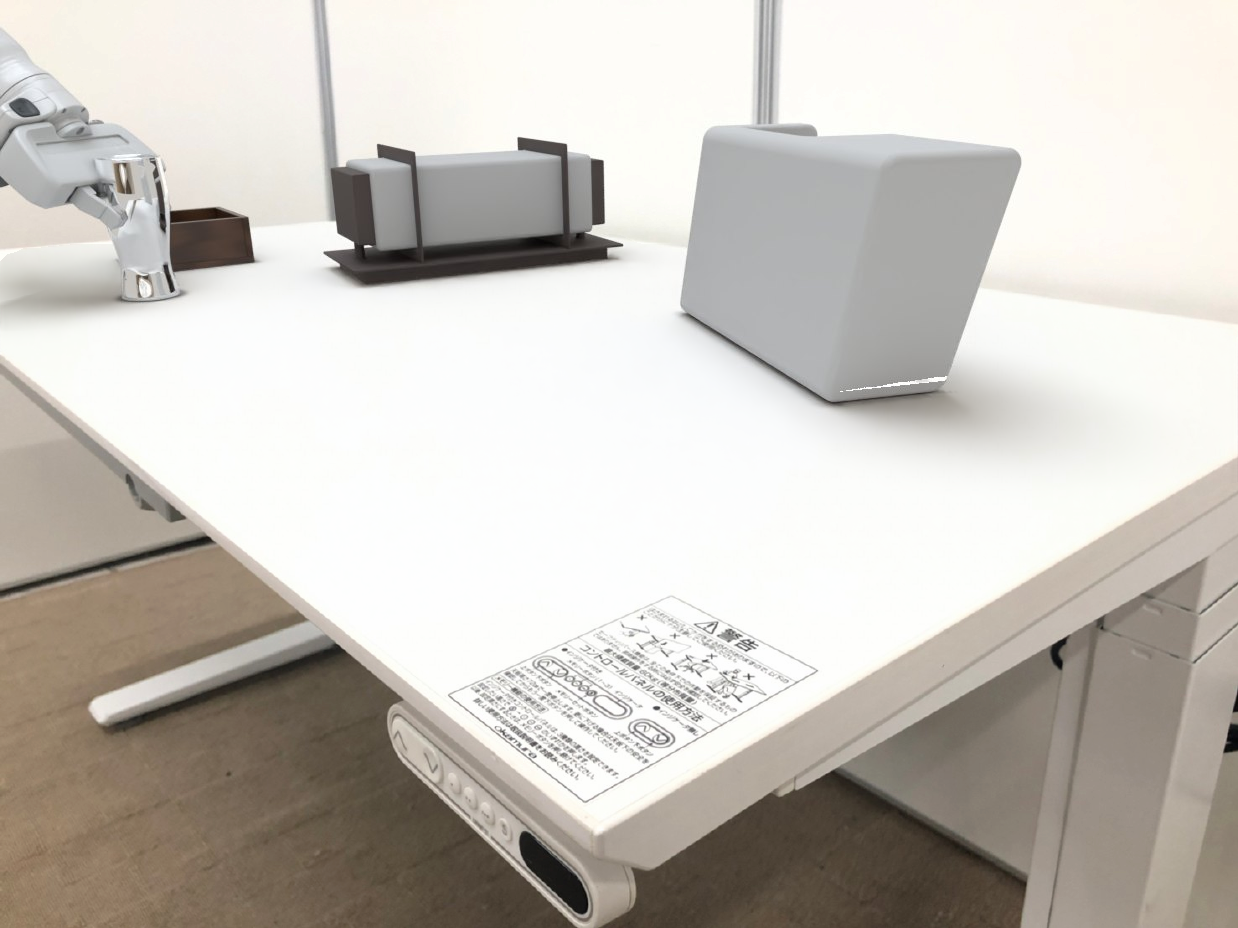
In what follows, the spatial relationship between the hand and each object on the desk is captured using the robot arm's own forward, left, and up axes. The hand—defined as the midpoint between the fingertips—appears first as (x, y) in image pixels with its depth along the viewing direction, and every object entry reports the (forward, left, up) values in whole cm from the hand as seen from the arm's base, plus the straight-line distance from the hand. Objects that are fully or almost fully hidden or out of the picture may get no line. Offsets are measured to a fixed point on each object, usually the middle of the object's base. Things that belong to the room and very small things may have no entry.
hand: (143, 218), depth 115 cm
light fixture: (+38, -4, -9) cm, 39 cm away
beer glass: (0, 0, -9) cm, 9 cm away
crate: (+9, +22, -8) cm, 25 cm away
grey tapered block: (+40, -62, -9) cm, 74 cm away
